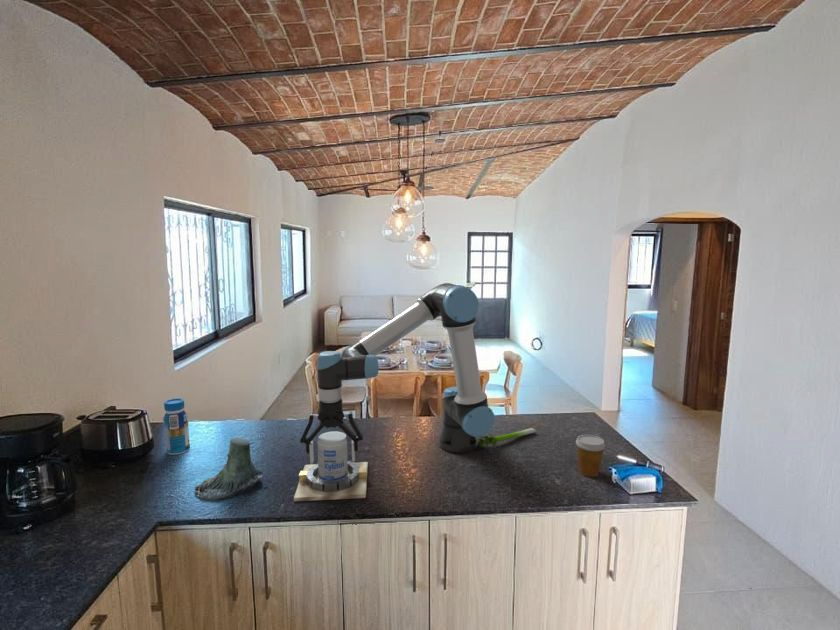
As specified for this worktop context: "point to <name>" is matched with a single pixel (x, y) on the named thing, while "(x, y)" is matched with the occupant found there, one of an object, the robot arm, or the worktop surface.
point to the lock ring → (332, 485)
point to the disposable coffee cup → (589, 454)
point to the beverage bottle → (176, 427)
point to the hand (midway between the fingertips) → (332, 461)
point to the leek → (503, 437)
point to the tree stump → (231, 474)
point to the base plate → (353, 492)
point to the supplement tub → (332, 456)
